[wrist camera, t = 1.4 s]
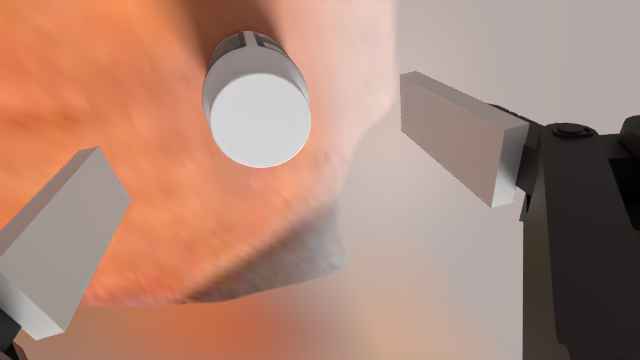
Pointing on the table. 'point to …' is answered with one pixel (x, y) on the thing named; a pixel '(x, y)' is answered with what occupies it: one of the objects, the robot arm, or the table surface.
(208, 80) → the pill bottle
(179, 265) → the table surface
